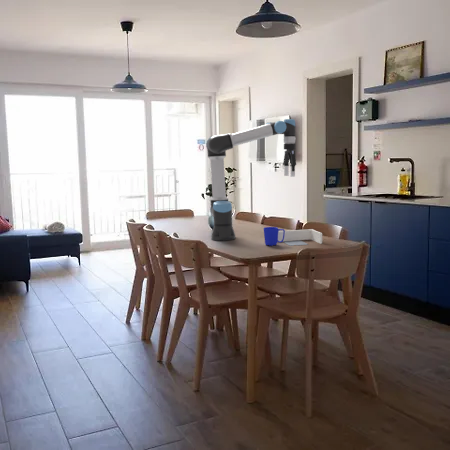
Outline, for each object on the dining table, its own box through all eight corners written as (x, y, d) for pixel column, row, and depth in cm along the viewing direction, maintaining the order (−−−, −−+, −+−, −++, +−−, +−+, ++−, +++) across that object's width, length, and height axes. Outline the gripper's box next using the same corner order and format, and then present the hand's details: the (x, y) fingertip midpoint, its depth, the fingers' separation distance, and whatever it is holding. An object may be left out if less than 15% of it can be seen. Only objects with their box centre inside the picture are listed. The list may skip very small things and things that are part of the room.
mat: (289, 245, 299) (289, 245, 299) (282, 241, 314) (282, 241, 314) (308, 244, 301) (308, 244, 301) (300, 240, 316) (300, 240, 316)
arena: (280, 246, 299) (279, 235, 299) (272, 241, 316) (271, 231, 315) (322, 243, 304) (322, 233, 303) (312, 238, 320) (312, 229, 320)
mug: (284, 246, 298) (284, 228, 297) (263, 246, 301) (262, 229, 299) (285, 243, 306) (285, 226, 305) (264, 243, 309) (264, 226, 307)
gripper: (301, 142, 331) (301, 176, 334) (289, 143, 356) (289, 175, 358) (289, 142, 330) (289, 177, 333) (278, 143, 354) (278, 175, 357)
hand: (289, 176), depth 346 cm, fingers open, 13 cm apart
